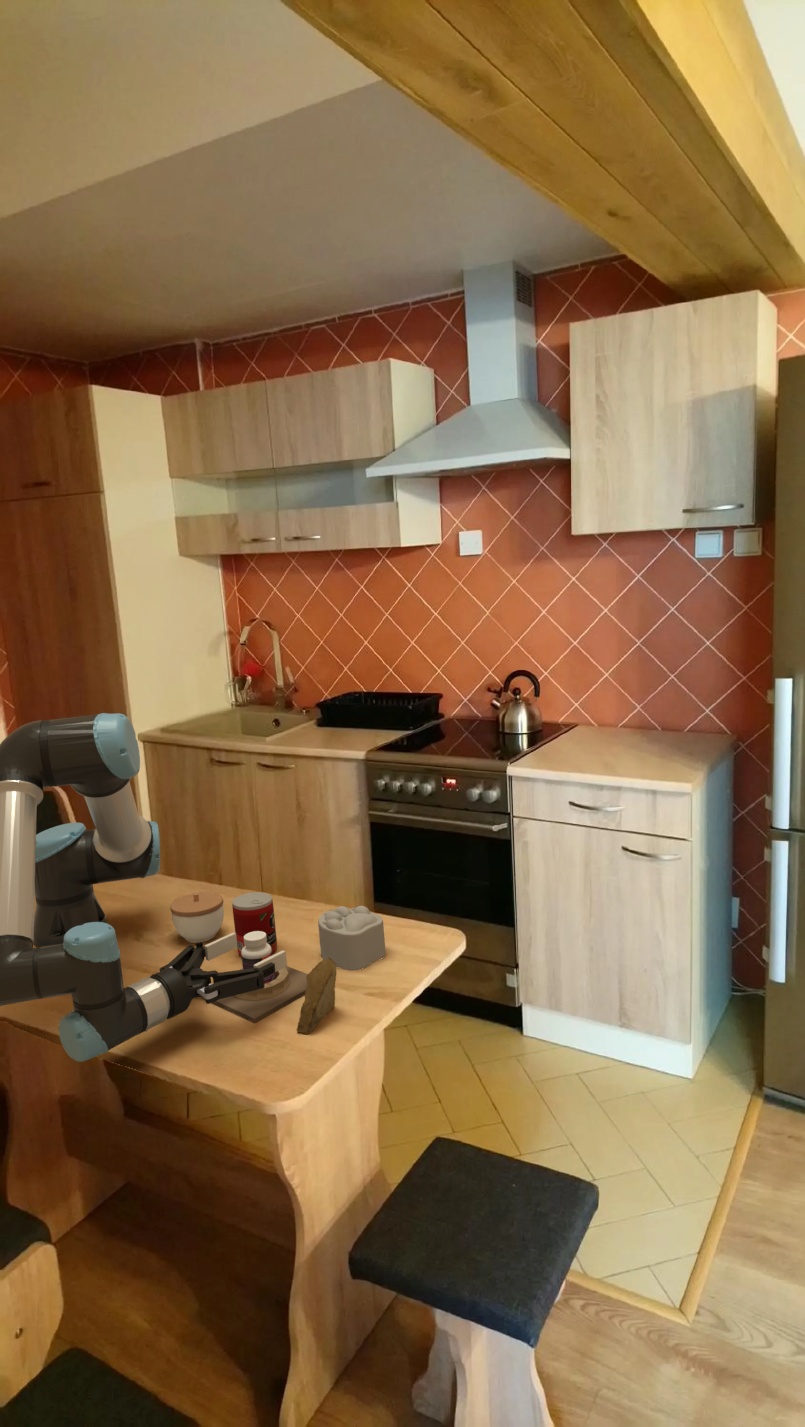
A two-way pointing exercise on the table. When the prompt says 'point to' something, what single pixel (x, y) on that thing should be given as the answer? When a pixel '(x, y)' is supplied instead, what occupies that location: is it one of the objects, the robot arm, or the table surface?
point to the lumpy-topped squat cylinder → (351, 937)
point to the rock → (318, 995)
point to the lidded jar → (198, 915)
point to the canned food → (254, 917)
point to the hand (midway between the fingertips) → (259, 948)
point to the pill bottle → (256, 951)
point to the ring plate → (269, 1003)
